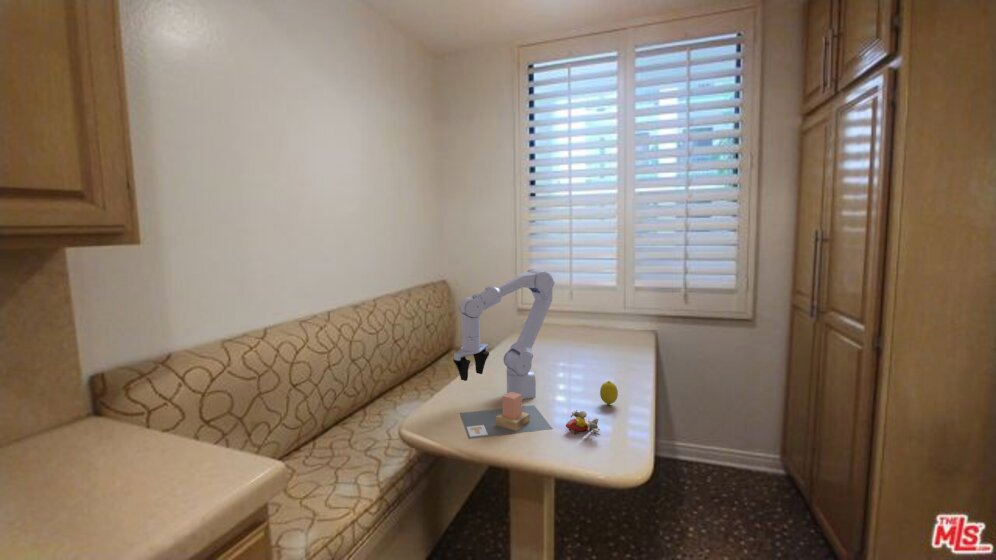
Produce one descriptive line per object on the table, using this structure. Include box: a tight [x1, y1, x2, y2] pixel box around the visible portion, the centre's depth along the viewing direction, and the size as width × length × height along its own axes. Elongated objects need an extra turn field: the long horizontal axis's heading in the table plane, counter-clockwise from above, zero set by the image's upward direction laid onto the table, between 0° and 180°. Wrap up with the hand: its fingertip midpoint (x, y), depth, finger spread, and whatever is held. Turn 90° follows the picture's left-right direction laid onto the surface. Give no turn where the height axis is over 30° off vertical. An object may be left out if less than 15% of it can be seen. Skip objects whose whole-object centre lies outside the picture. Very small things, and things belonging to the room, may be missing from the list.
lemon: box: [599, 380, 619, 406], centre depth 142 cm, size 6×6×8 cm
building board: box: [459, 404, 554, 440], centre depth 129 cm, size 24×17×1 cm
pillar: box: [502, 392, 523, 419], centre depth 127 cm, size 4×4×6 cm
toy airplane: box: [565, 409, 601, 435], centre depth 123 cm, size 9×9×6 cm
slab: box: [496, 412, 530, 431], centre depth 127 cm, size 7×7×2 cm
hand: (471, 376), depth 141 cm, fingers open, 7 cm apart
